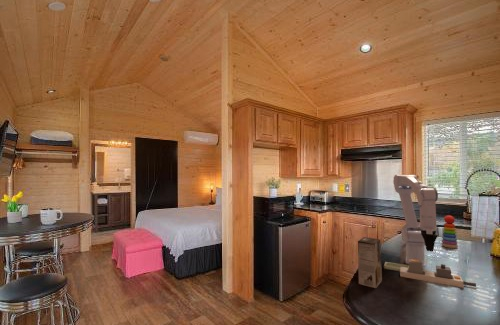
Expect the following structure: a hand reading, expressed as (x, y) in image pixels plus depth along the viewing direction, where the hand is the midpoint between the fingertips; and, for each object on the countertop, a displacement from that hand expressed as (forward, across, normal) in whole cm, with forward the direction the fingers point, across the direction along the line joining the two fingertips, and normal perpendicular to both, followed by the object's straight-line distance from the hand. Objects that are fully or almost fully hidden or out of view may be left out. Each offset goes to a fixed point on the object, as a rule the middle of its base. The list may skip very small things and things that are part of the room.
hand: (429, 249), depth 109 cm
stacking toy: (+10, -64, +13) cm, 66 cm away
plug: (+10, +7, -5) cm, 14 cm away
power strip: (+11, +7, +1) cm, 13 cm away
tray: (+10, 0, -12) cm, 16 cm away
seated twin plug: (+10, +7, +4) cm, 13 cm away
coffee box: (+11, +24, -20) cm, 33 cm away
